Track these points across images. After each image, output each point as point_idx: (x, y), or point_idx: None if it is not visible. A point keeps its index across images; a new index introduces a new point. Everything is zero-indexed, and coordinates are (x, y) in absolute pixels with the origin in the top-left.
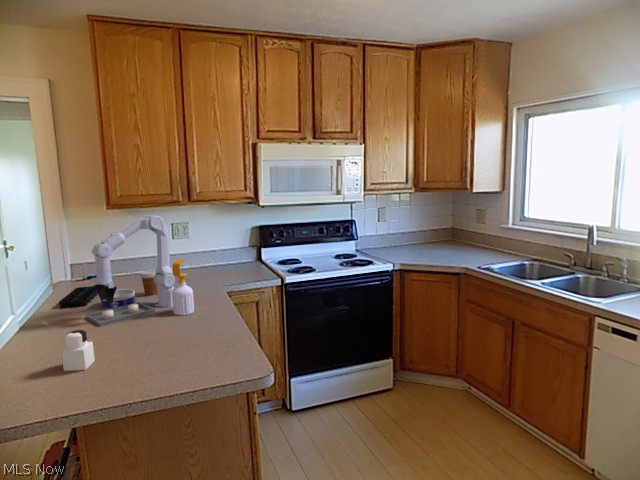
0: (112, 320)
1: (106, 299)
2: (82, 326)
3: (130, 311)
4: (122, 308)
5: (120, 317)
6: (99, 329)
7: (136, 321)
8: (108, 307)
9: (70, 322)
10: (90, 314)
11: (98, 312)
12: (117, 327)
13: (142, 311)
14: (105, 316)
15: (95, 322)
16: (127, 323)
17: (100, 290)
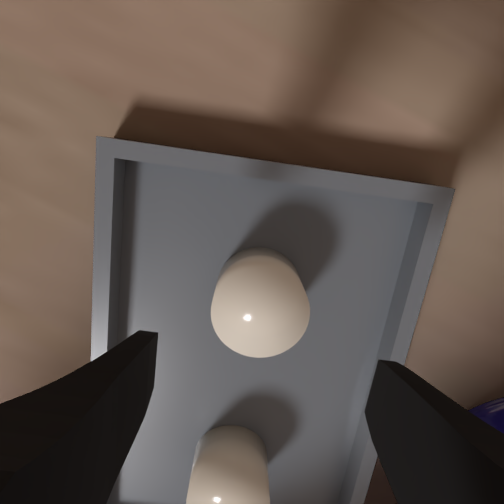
0: (95, 248)
1: (119, 352)
2: (279, 61)
3: (212, 441)
4: (357, 450)
5: (99, 319)
6: (71, 109)
7: (30, 368)
8: (497, 413)
9: (489, 54)
10: (427, 220)
11: (409, 288)
12: (3, 221)
13: (185, 490)
14: (233, 262)
15: (211, 152)
16: (38, 311)
17: (458, 488)
